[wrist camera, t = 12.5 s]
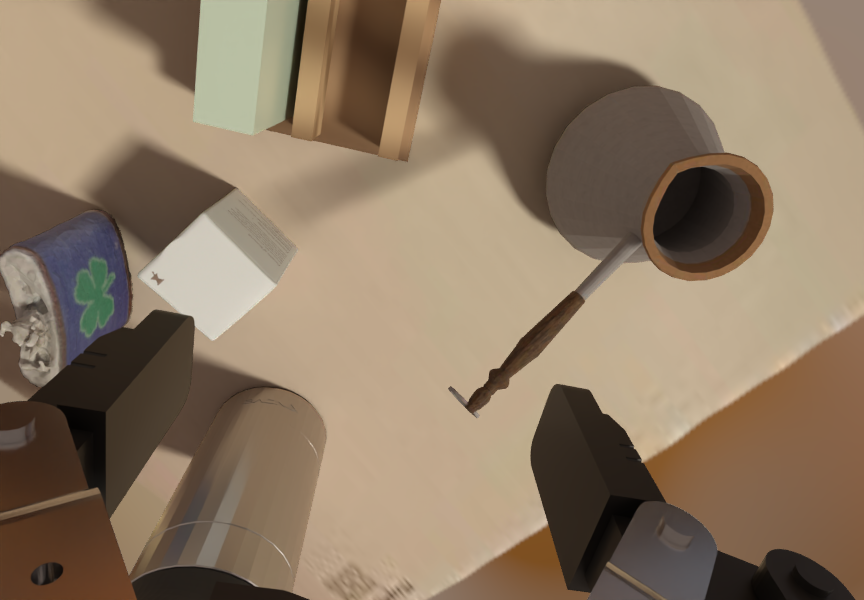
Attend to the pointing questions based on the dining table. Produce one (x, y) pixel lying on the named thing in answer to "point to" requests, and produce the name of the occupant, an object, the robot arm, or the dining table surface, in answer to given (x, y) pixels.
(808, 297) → the dining table surface
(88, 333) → the flask
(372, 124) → the rack
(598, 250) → the coffee pot
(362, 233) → the dining table surface
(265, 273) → the product box
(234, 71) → the sage green tall prism
